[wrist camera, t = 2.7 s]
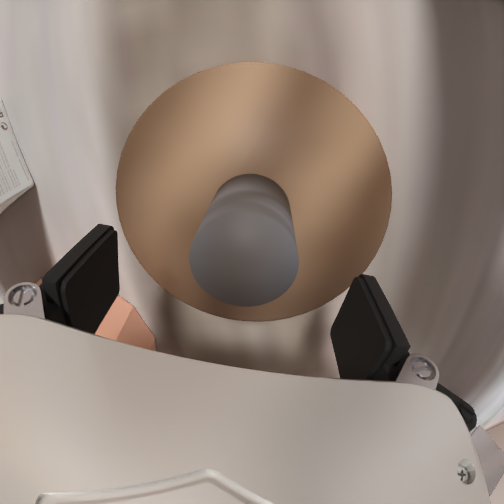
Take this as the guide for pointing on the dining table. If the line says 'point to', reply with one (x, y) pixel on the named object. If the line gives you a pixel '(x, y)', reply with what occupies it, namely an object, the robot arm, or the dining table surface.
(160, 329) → the dining table surface
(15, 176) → the supplement box
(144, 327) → the bowl
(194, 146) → the lid
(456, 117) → the dining table surface
